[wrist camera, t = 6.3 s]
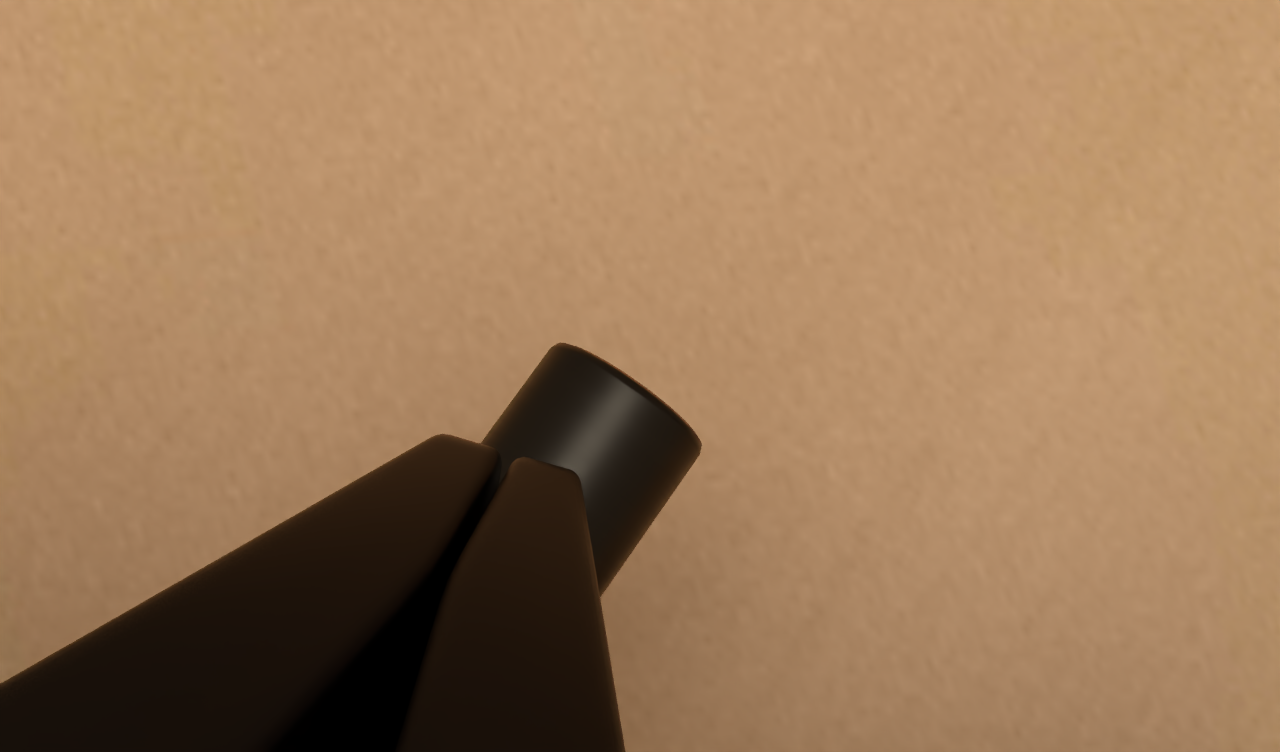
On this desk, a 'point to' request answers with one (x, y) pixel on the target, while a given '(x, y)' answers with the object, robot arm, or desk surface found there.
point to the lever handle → (599, 445)
